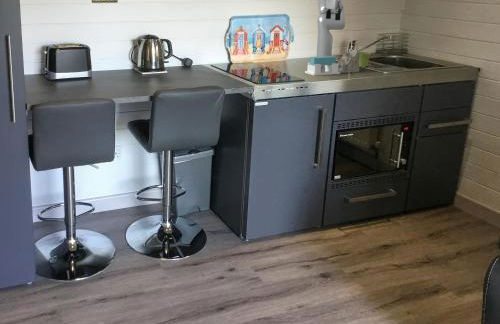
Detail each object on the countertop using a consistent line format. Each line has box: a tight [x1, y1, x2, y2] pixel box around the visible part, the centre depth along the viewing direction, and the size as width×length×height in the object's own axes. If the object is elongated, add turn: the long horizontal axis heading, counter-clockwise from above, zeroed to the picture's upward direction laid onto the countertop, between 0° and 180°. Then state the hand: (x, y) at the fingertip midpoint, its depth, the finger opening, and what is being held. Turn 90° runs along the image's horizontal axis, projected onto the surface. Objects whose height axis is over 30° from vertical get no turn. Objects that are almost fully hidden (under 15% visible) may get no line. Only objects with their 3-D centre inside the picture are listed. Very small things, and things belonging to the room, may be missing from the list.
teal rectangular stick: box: [309, 55, 337, 66], centre depth 336 cm, size 4×15×4 cm, turn 116°
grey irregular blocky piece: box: [337, 46, 360, 74], centre depth 349 cm, size 16×16×15 cm
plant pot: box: [358, 51, 372, 68], centre depth 364 cm, size 9×9×9 cm
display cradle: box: [304, 62, 341, 76], centre depth 338 cm, size 10×18×6 cm, turn 116°
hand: (332, 19), depth 336 cm, fingers open, 9 cm apart
